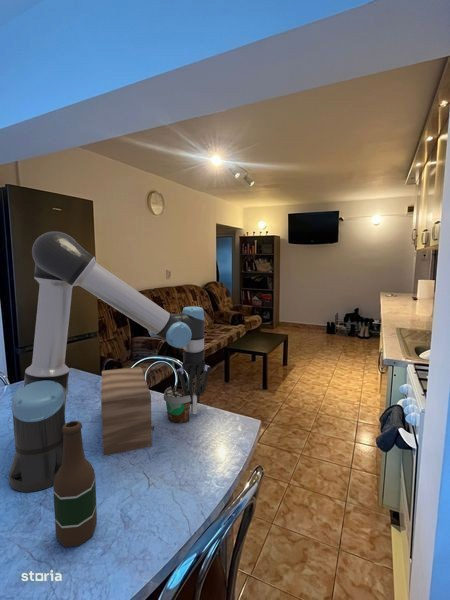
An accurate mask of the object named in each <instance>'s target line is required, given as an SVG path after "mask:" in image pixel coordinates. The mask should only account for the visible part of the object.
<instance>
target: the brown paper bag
mask: <svg viewBox="0 0 450 600" xmlns="http://www.w3.org/2000/svg"><path fill="white" fill-rule="evenodd" d="M145 377H146V376H145V374H144V371H143V368H142V367H141V366H135V367H134V366H132V367H125V368H117V369H107V370H101V394H100V395H101V396H100V400H101V401H100V402H101V403H100V405H101V430H102V431H101V432H102V434H101V435H102V452H103V453H102V455H103V457H106V456H110V455H115V454H116V455H117V454H120V453H121V454H122V453H125V452H131V451H136V450H140V449H141V450H142V449H145V448H150V447H153V438H152V437H153V435H152V434H153V432H152V425H153V424H152V422H153V421H152V395H151V391H150V389H149V386H148V383H147V380H146V378H145Z"/></svg>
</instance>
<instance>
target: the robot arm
mask: <svg viewBox="0 0 450 600" xmlns="http://www.w3.org/2000/svg"><path fill="white" fill-rule="evenodd" d="M31 248H32V249H31V255H32V259H33V261H34V263H35V265H34V275H33V276H34V277H33V278H34V280H35V281H36V282H37V283H38V285H39V289H38V297H37V299H38V300H37V309H36V310H37V311H36V318H35V319H36V320H35V330H34V341H33V350H32V353H33V354H32V360H31V364H30V366H28V367H27V368H26V369H25V371H24V380H23V381H24V382H23V386H22V387H20V388H18V389H17V390H16V391H15V393H14V394H13V396H12V399H11V400H12V401H11V413H12V420H13V421H12V422H13V432H14V433H13V435H14V446H15V447H14V448H15V452H14V455H13V459H12V463H11V466H10V469H9V472H8V473H9V474H8V482H9V483H8V484H9V486H10V488H11V489H12V490H13V491H14V490H15V491H17V492H21V493H31V492H37V491H41V490H45V489H47V488H50V487H53V486H54V479H55V476H56V474H57V472H58V470H59V469H60V467H61V465H62V460H63V432H62V427H63V426H64V424H65V423H66V405H67V404H66V403H67V396H68V391H69V376H70V368H69V367H68V366H67V365H66V353H67V352H66V351H67V343H68V335H69V323H70V315H71V314H70V313H71V304H72V294H73V288H74V287H75V286H78V287H81V288H82V289H84V290H86V291H87V292H89V293H91V294H92V295H93V296H94V297H96V298H98V299H100V300H101V301H103V302H104V303H106V304H107V305H109V306H111V307H112V308H114V309H115V310H117V311H118V312H119V313H121V314H122V315H124V316H127V317H128V318H129V319H131V320H132V321H134V322H135V323H137V324H139V325H140V326H142V327H143V328H145V329H147V331H148V334H149V335H150V338H160V339H162V340H163V341H165V342H167V344H168V345H169V346H171V347H173V348H176V349H181V348H183V351H182V353H183V354H182V355H183V357H182V359H183V361H182V365H181V367H180V368H177V369H176V370H175V371H176V374H177V375H178V378H179V381H180V385H181V388H182V392H183V394H184V395H185V396H189V395H190V397H191V401H190V412H191V413H192V414H193V415H194V414H198V404H200V397H201V394H204V393H205V391H206V387H207V382H208V378H209V375H210V373H211V370H212V367H211V366H210V365H207V364H206V362H205V350H204V349H205V309H204V308H203V307H200V306H191V305H190V306H185V307H183V309H182V312H181V313H170V312H168V311H167V310H166V309H163V307H161V306H159V305H158V304H157V303H155V302H154V301H152V300H151V299H150V298H148V297H147V296H146V295H144V294H142V293H141V292H139V291H138V290H137V289H135V288H134V287H132V286H130V285H129V283H128V284H127V282H125V281H123V280H122V279H120V278H119V277H118V276H116V275H115V274H113V273H112V272H110V271H109V270H107V269H106V268H105V267H103V266H101V265H100V264H99V263H97V261H96V256H94V255H92V254H91V253H90V252H88V251H87V250H86V249H84V248H83V247H82V246H81V245H80V244H79V243H78V241H76V239H74V238H73V237H71V235H69V234H67V233H65V232H62V231H47V232H45V233H43V234H41V235H40V236H38V237H37V238H36V239H35V240H34V242H33V245H32V247H31ZM184 371H185V373H186V374H187V383H186V379H185V376H184ZM202 371H203V373H202ZM201 373H202V375H201ZM201 377H202V378H201ZM200 378H201V379H200ZM200 380H201V381H200Z"/></svg>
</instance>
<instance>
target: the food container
mask: <svg viewBox="0 0 450 600" xmlns="http://www.w3.org/2000/svg"><path fill="white" fill-rule="evenodd" d="M163 400H164V402H165V406H166V415H167V419H168V421H169V422H170V423H173V424H184V423H187V422H190V416H191V415H190V412H191V405H190V401H191V397H190V395H189V396H188V395H187V396H186V395H185V394H184V393H182V392H181V391H178V390H174V389H172V386H169V387H167V388H166V389H165V390H164V392H163Z"/></svg>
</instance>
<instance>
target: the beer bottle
mask: <svg viewBox="0 0 450 600" xmlns="http://www.w3.org/2000/svg"><path fill="white" fill-rule="evenodd" d="M83 427H84V426H83V424H82V422H81V421H79V420H72V421H71V420H70V421H68V422H65V424H64V426H63V427H62V432H63V460H62V465H61V467H60V469H59V470H58V472H57V474H56V476H55V479H54V485H53V486H52V487H53V489H52V490H53V491H52V493H53V494H52V495H53V507H54V523H55V524H54V526H55V535H56V539H57V541H58V542H59V543H60V544H61V546H62V547H63V548H71V547H72V548H74V547H80V546H81V545H82V544H83V543H84V544H85V543H86V541H88V540H90V539H91V538H92V537H93V535H94V534H95V533H94V532H95V529H96V526H97V524H98V520H97V518H98V511H97V508H98V507H97V490H96V486H97V485H96V473H95V469H94V467H93V464H92V463H91V462H90V461H89V460H88V459H87V458H86V456H85V450H84V444H83V437H82V436H83V435H82V428H83Z"/></svg>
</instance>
